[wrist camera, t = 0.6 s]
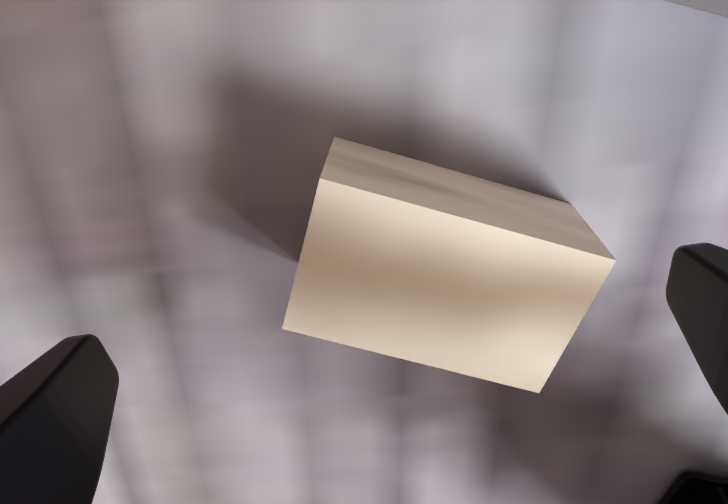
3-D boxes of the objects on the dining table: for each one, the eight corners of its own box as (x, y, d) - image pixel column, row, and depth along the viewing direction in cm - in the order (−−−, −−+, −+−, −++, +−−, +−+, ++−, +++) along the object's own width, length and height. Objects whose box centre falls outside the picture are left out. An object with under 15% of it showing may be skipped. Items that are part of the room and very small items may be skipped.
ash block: (512, 317, 24) (539, 393, 20) (302, 262, 23) (281, 329, 19) (569, 202, 22) (616, 260, 17) (334, 135, 21) (319, 178, 16)
